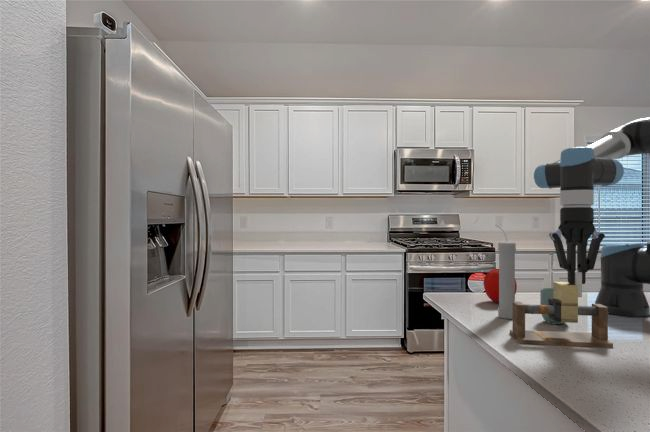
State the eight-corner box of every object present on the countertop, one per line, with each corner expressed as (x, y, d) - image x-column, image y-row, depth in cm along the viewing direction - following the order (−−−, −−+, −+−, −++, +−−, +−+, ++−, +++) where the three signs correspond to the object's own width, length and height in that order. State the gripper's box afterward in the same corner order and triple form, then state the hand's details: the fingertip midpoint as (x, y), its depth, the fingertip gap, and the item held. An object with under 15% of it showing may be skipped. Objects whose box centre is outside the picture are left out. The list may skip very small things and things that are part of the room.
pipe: (518, 319, 128) (518, 224, 128) (497, 318, 130) (497, 224, 129) (513, 315, 134) (513, 224, 134) (493, 314, 135) (493, 224, 135)
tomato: (519, 301, 155) (519, 266, 155) (514, 307, 145) (514, 270, 144) (486, 297, 161) (486, 264, 161) (480, 303, 151) (480, 268, 151)
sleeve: (568, 317, 110) (568, 282, 110) (577, 322, 105) (577, 285, 105) (553, 317, 110) (553, 281, 110) (561, 322, 105) (561, 285, 105)
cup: (559, 327, 120) (559, 293, 119) (535, 321, 126) (535, 289, 126) (575, 324, 123) (575, 291, 123) (550, 318, 130) (550, 287, 130)
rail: (595, 336, 111) (595, 301, 111) (613, 347, 102) (613, 309, 102) (509, 333, 114) (509, 299, 114) (520, 343, 105) (520, 307, 105)
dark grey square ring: (553, 316, 110) (553, 298, 110) (561, 321, 105) (561, 302, 105) (548, 316, 111) (548, 298, 111) (556, 321, 106) (556, 302, 106)
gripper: (596, 206, 110) (595, 294, 110) (544, 207, 112) (544, 292, 112) (611, 206, 102) (611, 299, 102) (556, 206, 104) (556, 298, 104)
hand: (576, 296), depth 107 cm, fingers closed
